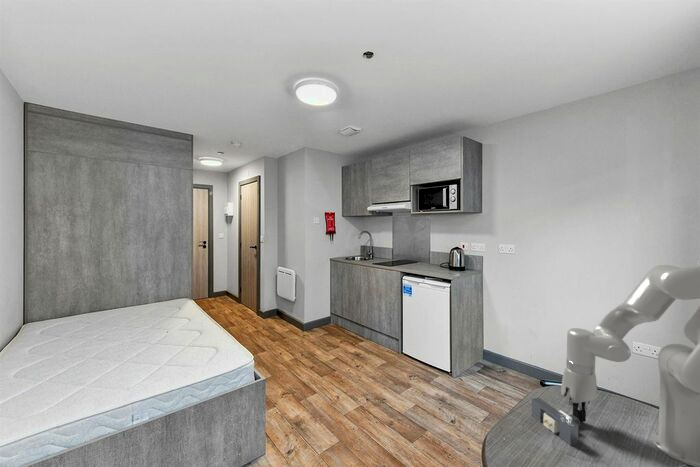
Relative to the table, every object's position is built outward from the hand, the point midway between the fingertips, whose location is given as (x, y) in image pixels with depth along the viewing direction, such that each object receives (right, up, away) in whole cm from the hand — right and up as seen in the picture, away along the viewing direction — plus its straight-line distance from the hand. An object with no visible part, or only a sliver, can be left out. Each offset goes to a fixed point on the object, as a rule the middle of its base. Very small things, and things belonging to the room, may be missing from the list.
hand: (578, 419), depth 97 cm
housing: (-11, -1, -3) cm, 11 cm away
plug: (-7, -1, -2) cm, 7 cm away
